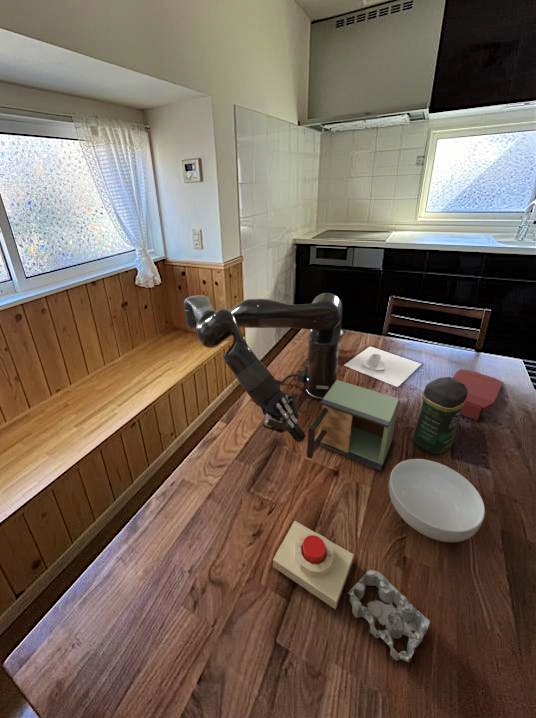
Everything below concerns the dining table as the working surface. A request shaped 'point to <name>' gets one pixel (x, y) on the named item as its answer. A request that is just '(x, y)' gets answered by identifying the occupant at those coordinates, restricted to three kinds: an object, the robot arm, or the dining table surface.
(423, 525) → the cereal bowl
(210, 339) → the robot arm
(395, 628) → the egg carton
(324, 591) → the switch box
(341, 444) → the door
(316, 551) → the button
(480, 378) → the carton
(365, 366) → the teacup and saucer
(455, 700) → the dining table surface
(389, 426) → the cupboard
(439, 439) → the coffee jar
